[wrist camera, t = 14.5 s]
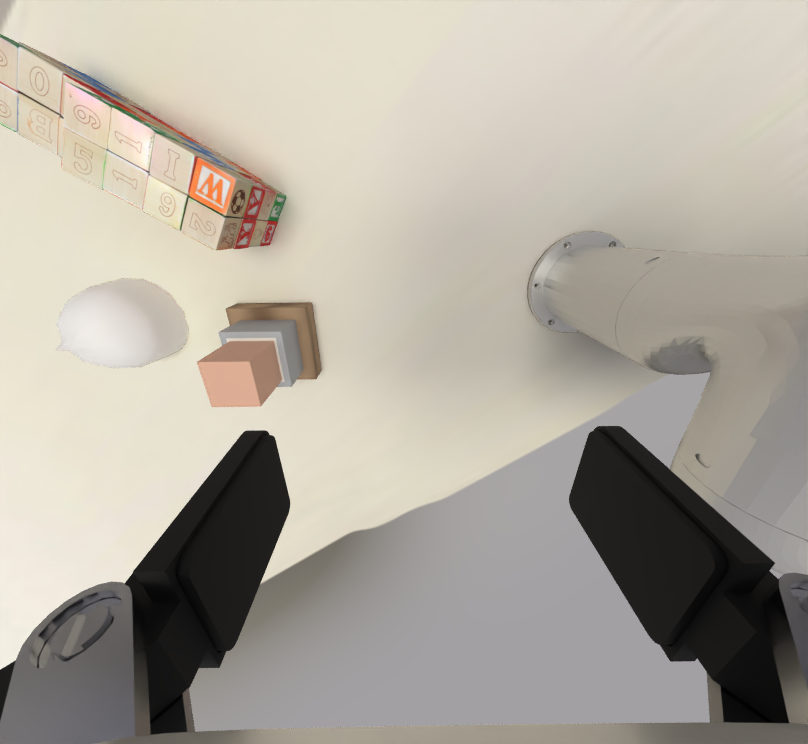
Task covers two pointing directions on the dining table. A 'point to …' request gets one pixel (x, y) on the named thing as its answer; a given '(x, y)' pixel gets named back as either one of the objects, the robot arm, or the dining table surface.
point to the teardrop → (122, 324)
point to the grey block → (283, 338)
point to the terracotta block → (241, 373)
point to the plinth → (286, 312)
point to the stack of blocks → (133, 152)
